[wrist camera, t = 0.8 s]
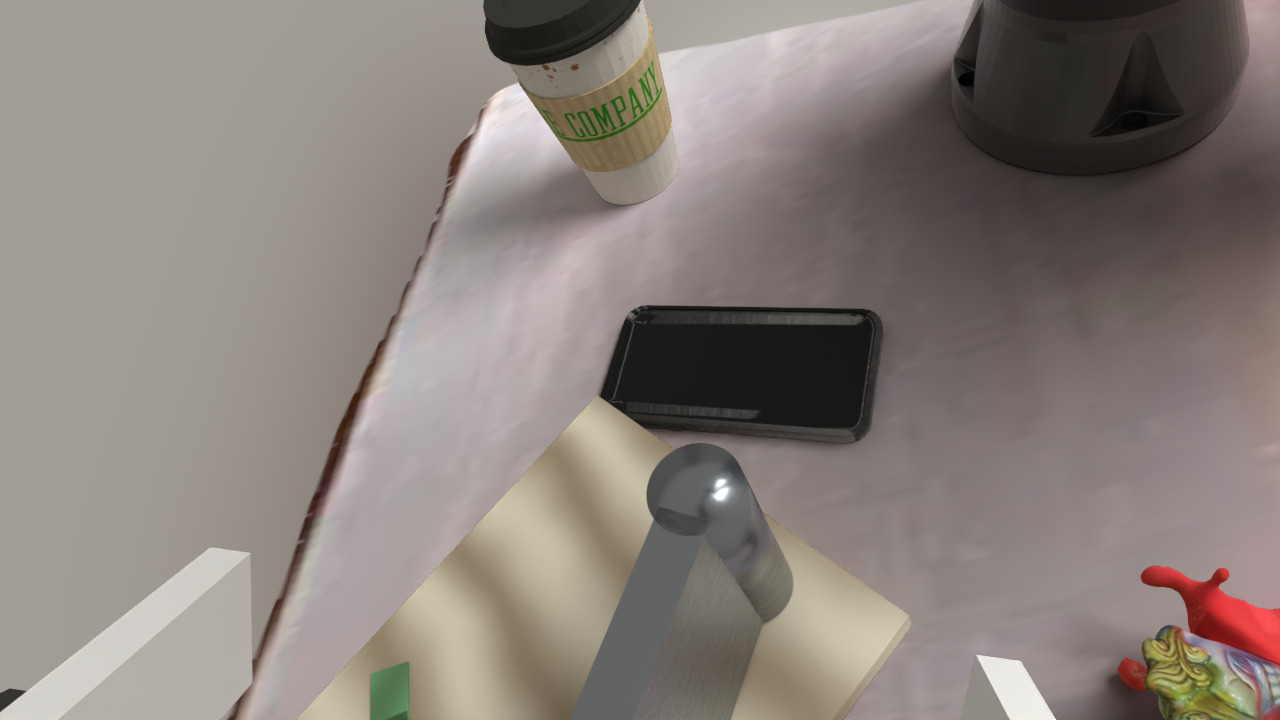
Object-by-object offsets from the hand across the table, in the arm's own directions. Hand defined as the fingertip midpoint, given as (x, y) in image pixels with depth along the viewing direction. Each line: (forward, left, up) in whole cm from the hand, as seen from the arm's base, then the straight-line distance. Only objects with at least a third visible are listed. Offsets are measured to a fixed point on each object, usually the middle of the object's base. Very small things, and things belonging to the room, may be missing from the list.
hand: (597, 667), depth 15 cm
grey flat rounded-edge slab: (+1, -5, -22) cm, 22 cm away
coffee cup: (-24, -33, -24) cm, 47 cm away
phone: (-15, -16, -24) cm, 33 cm away
